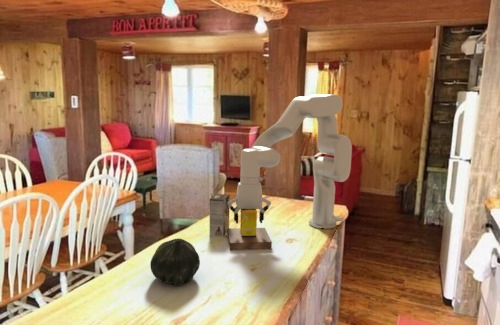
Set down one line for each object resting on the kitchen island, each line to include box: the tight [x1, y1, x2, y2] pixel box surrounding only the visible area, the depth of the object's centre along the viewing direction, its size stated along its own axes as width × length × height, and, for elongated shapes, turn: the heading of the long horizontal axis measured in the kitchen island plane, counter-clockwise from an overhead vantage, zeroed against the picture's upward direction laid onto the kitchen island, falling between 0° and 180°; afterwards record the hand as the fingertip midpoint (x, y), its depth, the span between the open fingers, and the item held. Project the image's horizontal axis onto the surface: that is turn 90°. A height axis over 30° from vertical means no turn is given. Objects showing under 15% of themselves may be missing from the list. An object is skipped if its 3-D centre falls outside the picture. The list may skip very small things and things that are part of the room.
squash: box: [150, 238, 201, 286], centre depth 123 cm, size 14×15×15 cm
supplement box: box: [239, 209, 258, 238], centre depth 156 cm, size 6×6×11 cm
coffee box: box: [209, 193, 230, 238], centre depth 165 cm, size 9×6×16 cm
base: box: [226, 227, 273, 251], centre depth 157 cm, size 16×16×3 cm
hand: (248, 222), depth 156 cm, fingers open, 9 cm apart
